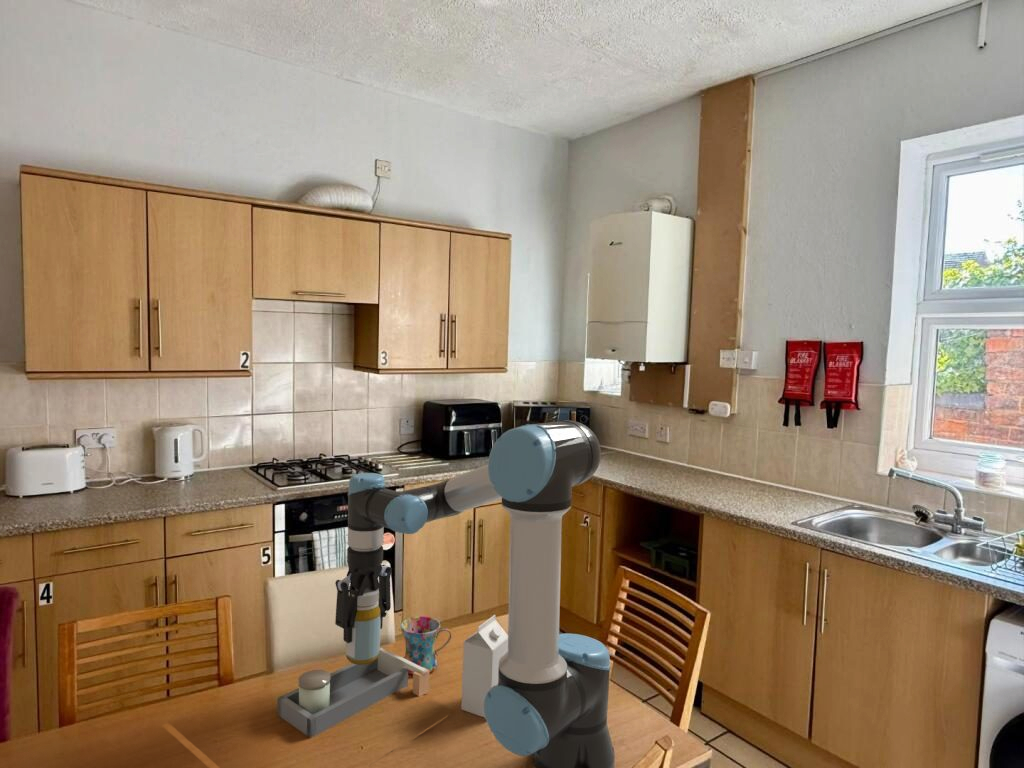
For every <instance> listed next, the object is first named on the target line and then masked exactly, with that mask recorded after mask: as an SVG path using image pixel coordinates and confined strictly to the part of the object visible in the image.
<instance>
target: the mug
mask: <svg viewBox="0 0 1024 768" xmlns="http://www.w3.org/2000/svg"><path fill="white" fill-rule="evenodd" d="M440 622H441V621H439V620H438V619H436V618H435V617H430V616H423V615H419V616H413V617H409V618H406V619H405V620H403V621H402V622H401V624H400V630H401V633H402V634H403V637H404V643H405V653H404V657H403V658H404V659H406V660H408V661H410V662H412V663H415V664H417V665H419V666H421V667H424V668H426V669H428V670H430V673H432V672H433V671H435V670H436V669H437V667H438V664H439V663H438V660H437V658H436V656H437V657H438V656H439V653H438V652H439V651H441V650H442V649H444V648H445V647H446V646H448V644H449V642H450V641H451V639H452V631H451V629H448V628H442V629H440V628H441V623H440ZM442 632H448V633H449V637H448V639H447V641H445V643H444V644H443V645H442V646H440V647H438V648H437V649H435V646H436V645H435V643H436V639H437V638H438V637H439V634H441V633H442ZM406 669H407V668H406ZM408 674H411V675H413V671H411V670H409V669H408Z"/></svg>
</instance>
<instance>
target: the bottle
mask: <svg viewBox="0 0 1024 768" xmlns="http://www.w3.org/2000/svg"><path fill="white" fill-rule="evenodd" d="M356 590H357V589H356ZM352 596H353V597H354V596H355V595H352ZM378 600H379V590H378V589H377V590H376V591H374V590H372V589H369V588H367V589H365V590H364V594H363V596H358V599H357V606H358V607H357V610H358V611H357V614H356V617H355V623H354V628H356V630H355V658H352V657H351V656H349V655H347V654H346V653H345V656H346V659H347V661H349V663H350V664H352V663H353V664H357V665H364V664H369V663H372V662H373V661H375V660H376V659H377V657H378V656H379V648H381V647H380V646H381V629H380V608H379V605H378V603H379V601H378Z"/></svg>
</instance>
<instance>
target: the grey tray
mask: <svg viewBox="0 0 1024 768" xmlns="http://www.w3.org/2000/svg"><path fill="white" fill-rule="evenodd" d="M329 673H330V706H329V707H327V708H325V709H323V710H321V711H319V712H317V713H315V714H313V715H312V714H311V713H309V712H307V711H306V710H304V709H303V708H301V707H300V706H299V687H298V688H296V689H294V690H292V691H289V692H287V693H285V694H283V695H280V696H279V697H277V716H278V717H280V718H281V719H282V720H284V721H285V722H287V723H288V724H289V725H291V726H292V727H293V728H296V729H297V730H298V731H299V732H301V733H302V734H304V735H305V736H307V737H308V738H309V739H312V738H314V737H316V736H317V735H320V734H322V733H323V732H325V731H327V730H329V729H330V728H333V727H334V726H335V725H338V724H340V723H341V722H343V721H345V720H347V719H349V718H351V717H352V716H355V715H356V714H358V713H360V712H362V711H363V710H365V709H368V708H369V707H371V706H373V705H374V704H376V703H378V702H380V701H382V700H384V699H387V698H388V697H389V696H391V695H393V694H394V693H395V694H396V693H397V692H398V691H400V690H402V689H404V688H406V687H409V685H408V684H409V673H408V669H406V668H403V669H401V670H399V671H397V672H395V673H394V674H392V675H390V676H388V675H386V674H384V673H382V672H381V671H379V670H378V657H377V659H376V660H375V661H373V662H372V663H369V664H364V665H357V664H353V663H349V664H347V665H345V666H343V667H341V668H338V669H336V670H335V671H333V672H329Z"/></svg>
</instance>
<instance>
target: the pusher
mask: <svg viewBox="0 0 1024 768" xmlns="http://www.w3.org/2000/svg"><path fill="white" fill-rule="evenodd" d="M403 668H407V669H409V670H411V671H413V674H412V694H414V695H415V696H417V697H421V696H422V695H423V696H424V695H425V694H427V693H429V692H430V675H431V672H430V670H428V669H426V668H424V667H421V666H419V665H417V664H415V663H412V662H410V661H408V660H406V659H404V657H402V656H401V655H398V654H395V653H394V652H391V651H390V650H387V649H385V648H383V647H379V656H378V670H379V671H381V672H382V673H384V674H386V675H388V676H390V675H392V674H394V673H395V672H397V671H399V670H401V669H403Z"/></svg>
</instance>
